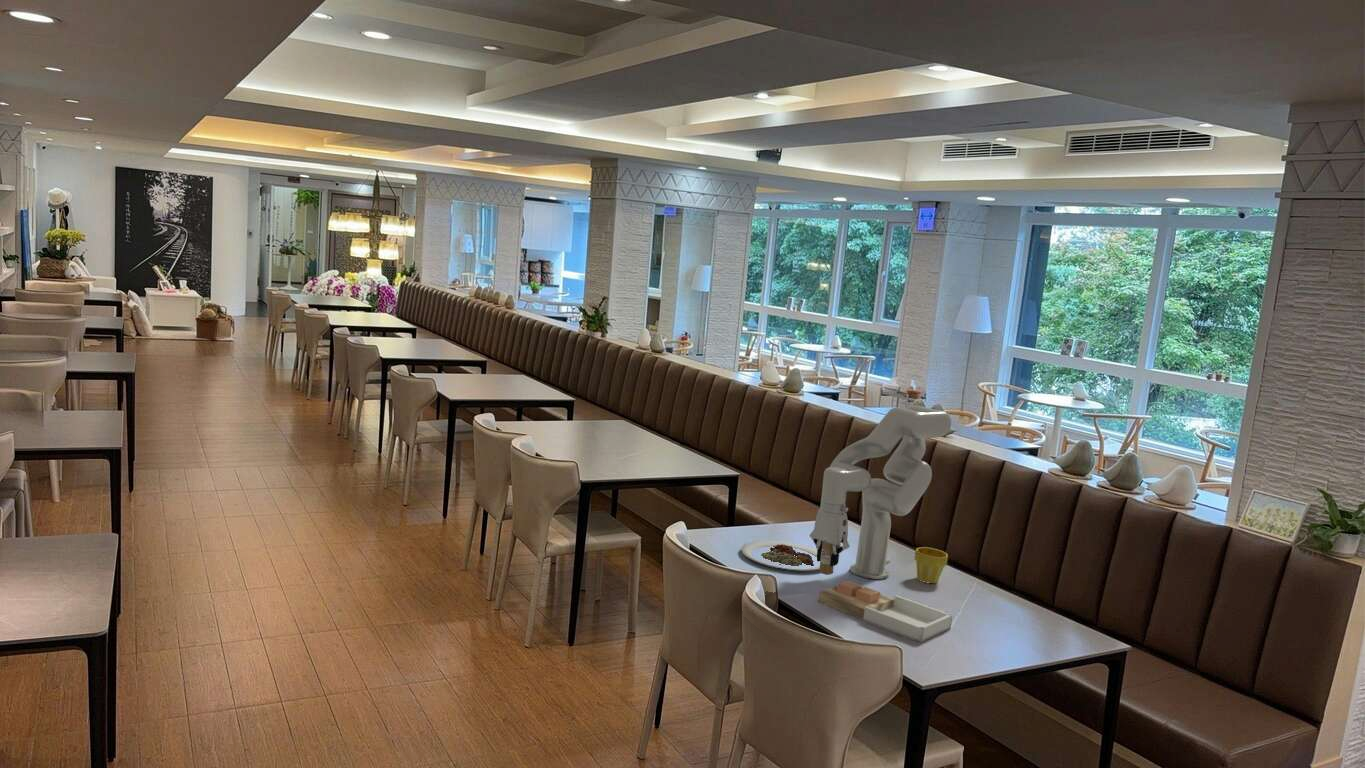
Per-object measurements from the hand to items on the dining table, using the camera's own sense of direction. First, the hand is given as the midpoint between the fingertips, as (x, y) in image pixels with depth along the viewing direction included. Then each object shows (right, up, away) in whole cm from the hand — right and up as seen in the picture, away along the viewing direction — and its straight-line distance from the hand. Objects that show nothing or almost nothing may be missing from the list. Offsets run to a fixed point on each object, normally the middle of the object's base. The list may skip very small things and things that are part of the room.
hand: (827, 562), depth 298 cm
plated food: (-11, -3, +19) cm, 22 cm away
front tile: (+8, -7, -21) cm, 24 cm away
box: (+18, -12, -30) cm, 37 cm away
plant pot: (+35, -9, +13) cm, 38 cm away
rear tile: (+4, -6, -17) cm, 18 cm away
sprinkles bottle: (0, -4, +1) cm, 4 cm away
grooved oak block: (+6, -9, -19) cm, 21 cm away
